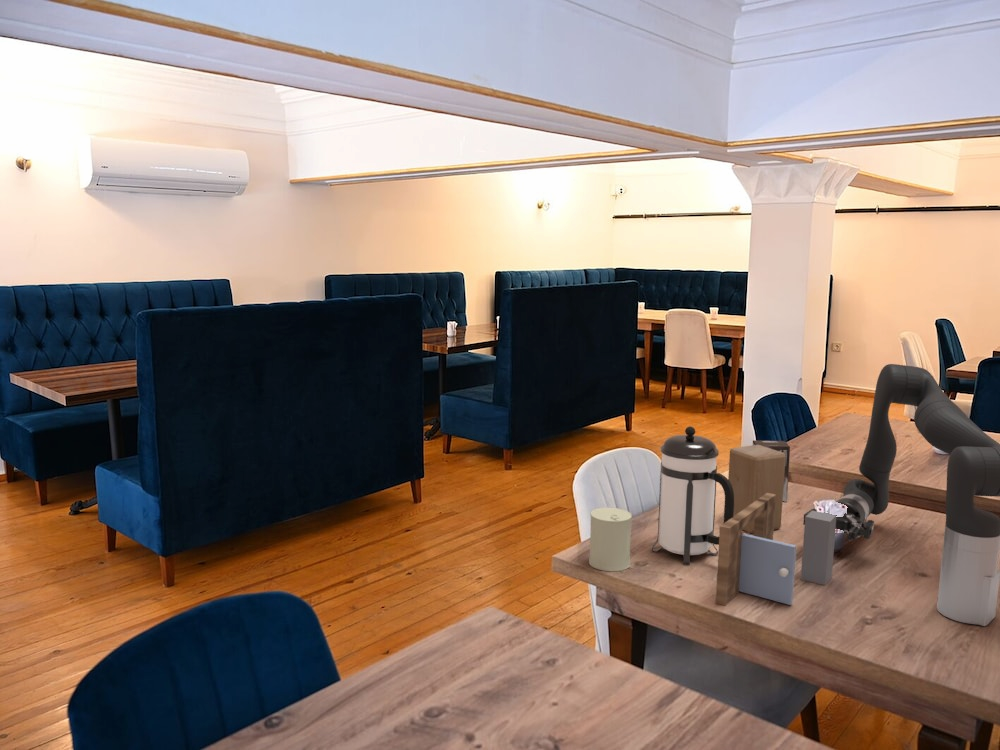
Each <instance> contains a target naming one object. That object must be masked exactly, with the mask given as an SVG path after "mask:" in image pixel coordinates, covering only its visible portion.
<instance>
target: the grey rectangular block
mask: <svg viewBox="0 0 1000 750" xmlns="http://www.w3.org/2000/svg"><path fill="white" fill-rule="evenodd" d="M836 516H837V515H832V514H827V513H825V512H823V511H822V512H821V511H818V510H817V511H811V512H810V513H809V514H808V515H807V516H805V525H804V529H803V530H804V531H803V541H802V542H803V543H802V558H801V570H800V571H801V573H800V574H801V575H800V580H801V581H802V580H803V581H806V582H811V583H814V584H818V585H822V586H827V584H828V583H827V582H829V581H831V579H832V576H833V563H834V555H835V554H834V553H835V552H834V551H835V539H836V538H835V537H836V530H835V528H836Z"/></svg>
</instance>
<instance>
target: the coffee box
mask: <svg viewBox="0 0 1000 750" xmlns="http://www.w3.org/2000/svg"><path fill="white" fill-rule="evenodd" d="M752 445H761V446H764V447H767V448H770V449H773V450H777V451H780V452H783V453H784V454H785V456H786V457H785V472H784V486H783V501H784V502H785V503H786V502H788V494H789V493H788V491H789V475H790V454H791V446H790V445H789V443H787V442H786V441H785V440H752Z"/></svg>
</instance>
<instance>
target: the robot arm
mask: <svg viewBox="0 0 1000 750" xmlns="http://www.w3.org/2000/svg"><path fill="white" fill-rule="evenodd" d="M891 404H897V405H906V406H911V407H912V406H913V407H916V409H915V412H914V416H913V421H914V425H915V428H916V429H917V431H918V432H919V433H920V434H921V436H922V437H923V438H924V440H925V441H927V442H928V443H929V445H931V446H932V447H934V448H935V449H936V450H937V449H938V450H939V451H941V452H944V453H946V454H947V455H949V457H948V459H947V460H948V462H947V467H946V490H945V491H946V492H945V526H944V527H945V528H944V534H943V535H944V536H943V542H942V543H943V544H942V553H941V554H942V555H941V564H940V571H939V572H940V573H939V583H938V584H939V585H938V592H937V593H938V594H937V604H936V610H937V611H938V612H939V613H940V614H941V615H942V616H944V617H947V618H948V619H951V620H953V621H956V622H959V623H964V624H969V625H979V626H982V627H986V626H988V625H989V624H990V623H991V622H992V621H993V620H994V619H995V618H996V613H997V603H998V596H999V586H1000V569H999V568H998V567H999V566H998V565H999V557H1000V517H999V516H998V515H997V514H995V513H994V512H990V511H988V510H985V509H982V508H979V507H977V506H975V497H998V498H999V497H1000V443H999V442H998V441H997V440H995V439H993V438H992V437H990V436H989V435H988V434H986V432H985V431H983V429H981V428H980V427H979V426H978V425H977V424H976V423H974V421H972V419H971V418H970V417H969V416H968V415H967V414H966V413H965V412H964V411H963V410H962V409H961V408H960V407H959V406H958V405H957V404H956V403H955V402H953V400H952V399H950V397H949V396H948V395H947V394H946V393H945V392H944V390H943V389H942V388H941V386H940V385H939V384H938V382H937V380H936V379H935V378H934V376H933V375H932V373H931V372H929V371H928V370H927V369H925V368H923V367H919V366H914V365H913V366H912V365H904V364H896V363H888V364H885V365H884V366H883V367H882V368H881V370H880V372H879V375H878V377H877V379H876V384H875V390H874V396H873V404H872V410H871V417H870V424H869V431H868V436H867V440H866V441H867V442H866V445H865V448H864V451H863V453H862V457H861V460H860V463H859V468H858V469H859V473H860V474H861V475H862V477H865V479H868V480H869V481H870V482H871V483H870V482H867V481H865V480H863V479H861V478H860V479H859V478H853V479H850V480H849V481H848V482H847V483H846V484H845V486H844V489H843V494H842V497H840V498H839V499H837V500H836V501H835V502H838V503H841V504H844V505H846V506H847V507H848V508H847V514H846V513H845V514H844V516H843V517H836V528H835V529H840V530H843V531H844V533H843V534H848V536H847V537H848V538H847V541H850V542H853V541H854V540H857V539H858V538H861V537H863V538H864V539H870V538H871V536H872V534H873V532H874V525H875V521H874V520H872V519H869V520H867V519H868V517H869V516H870V515H871V514H872V515H876V516H878V515H881V514H883V513H884V512H885V511H886V510H887V508H888V506H889V503H890V488H889V487H890V486H889V484H890V483H889V482H890V475H891V471H892V468H893V465H894V463H895V459H896V456H897V450H898V449H897V445H898V444H897V441H896V437H895V435H894V434H895V433H894V431H893V430H892V426H891V424H890V418H889V411H890V406H891ZM811 511H817V512H818V509H816V508H811V509H810V510H808V511H807V512H805V513H804V514H803V524H802V525H804V526H805V516H807V515H808V514H809V513H810V512H811ZM827 514H829V513H827Z"/></svg>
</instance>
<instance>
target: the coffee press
mask: <svg viewBox="0 0 1000 750" xmlns="http://www.w3.org/2000/svg"><path fill="white" fill-rule="evenodd" d="M684 432H685V434H678V435H673V436H670V437H668V438H667V439H665V440H664V442H663V444H662V445H661V446H660V453H661V461H660V473H659V474H660V475H659V491H660V493H659V499H658V515H659V516H658V517H657V518H658V523H657V538H656V540H655V542H654V543H653V544H652V546H651V549H652V551H653V552H654V553H658V552H659V551H661V550H662V549H664V550H666V551H667V552H670V553H673V554H677V555H682V556H683V557H682V558H683V565H691V556H698V555H702V554H705V553H707V552H708V553H709V554H710V555H711V556H713V557H716V556H718V551H719V550H718V549H717V547H716V545H718V546H719V536H717V535H715V534H714V530H715V511H716V498H717V497H716V496H717V495H716V494H717V483H718V484H719V485H720V486H721V487H722V489H723V493H724V506H723V508H724V509H723V524H724V523H725V522H726V521H728V520H729V519H731V518H732V517H733V513H734V492H733V488H732V485H731V483H730V481H729V480H728V478H727V477H726V476H725V475H723V474H722V473H719V472H717V471H718V466H717V458H718V456H719V453H720V451H719V449H718V448H717V446H716V444H715V442H714V441H712V440H711V439H709V438H707V437H704V436H701V435H695V434H696V430H695V428H694V427H693V426H688V427H686V428H685V430H684ZM658 543H659V545H660V546H659V547H658V548H656V549H655V546H656V545H657V544H658ZM712 546H713V548H714V549H715V551H716V552H712V551H711V550H710V549H711V548H712Z"/></svg>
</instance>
